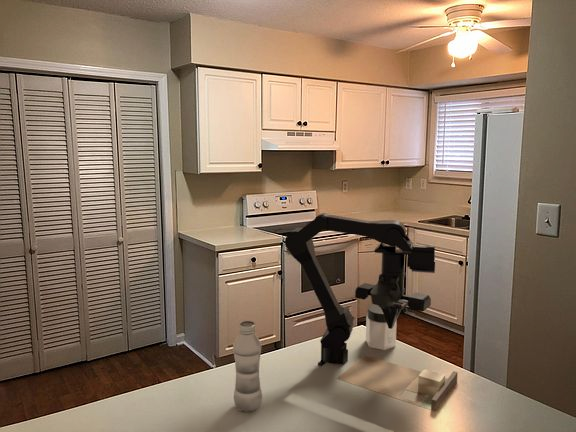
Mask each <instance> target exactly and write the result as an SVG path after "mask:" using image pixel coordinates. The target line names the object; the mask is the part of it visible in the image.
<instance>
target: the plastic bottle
mask: <svg viewBox="0 0 576 432" xmlns="http://www.w3.org/2000/svg"><path fill="white" fill-rule="evenodd" d="M256 332H257V331H256V322H254V321H252V320H243V321H240V322H239V323H238V333H239V334H238V335H237V337H236V338H235V340H234V341H233V345H232V351H233V356H234V361H235V362H234V364H235V366H234V367H235V384H234V391H233V402H234V405H235V407H236V408H237V409H238V410H239V411H241V412H245V413H247V412H248V413H250V412H254V411H256V410H257V409H259V408H260V407H261V405H262V401H263V393H262V387H261V381H260V380H261V378H260V360H261V352H262V343H261V340H260V339H259V337H258V336H257V335H256Z"/></svg>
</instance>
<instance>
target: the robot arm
mask: <svg viewBox="0 0 576 432" xmlns="http://www.w3.org/2000/svg"><path fill="white" fill-rule="evenodd" d="M322 231H331V232H336V233H341V234H348V235H355V236H360V237H366V238H369V239H373V240H374V241H376V242H379V244H378V245H377V246H376V247H375V249H374V251H373V252H374V253H376V254H381V272H380V274H379V275H378V281H377V283H376V284H371V283H366V282H365V283H363V284H360V285H359V286H357V287H356V288H355V290H354V298H355V299H360V300H366V299H367V298H369V296H370V298H371V304H372V305H378V306H379V307H380V308H381V309H382V311H383V313H384V316H385V319H386V322H387V325H388V328H390V329H392V328H393V326H394V324H395V322H396V320H397V319H398V318H399V316H400V313H401V312H402V310H403V309H405V308H406V307H408V308H409V309H410V310H413V311H416V312H417V311H418V312H425V311H426V310H427V309H429V308H430V307H431V304H432V298H431V297H430V295H429V294H427V293H426V294H424V293H421V292H415V293H413V294H412V295H407V294H405V293H406V288H405V287H404V286H405V284H404V283H405V278H406V276H407V272H405V266H406V265H407V266H406V267H407V268H409V270H411V272H412V273H413V272H414V273H426V274H435V271H436V254H435V251H436V247H435V245H429V244H428V245H418V244H416V245H414V243H413V241H412V240H411V239H410V237H409V236H408V235H407V227H406V226H405V224H404V223H403V222H402V221H400V220H399V219H398V220H397V219H381V220H366V219H359V218H353V217H346V216H339V215H333V214H329V213H326V212H322V213H319V214H318V215H317V216H316V217H315V218H314V219H313V220H312V221H311V222H309V223H307V224H306V225H305V226H303V227H296V228H295V229H293V230H292V231H291V232H289V233H288V234H287V235H286V237H285V238H284V246H285V248H286V249H287V251H288V252H289V254H291V256H292V257H293V259H294V260H295V261H297V262H298V263H299V265H300V266H301V267H302V269H303V271H304V273H305V275H306V277H307V279H308V282H309V283H310V286H311V288H312V290H313V292H314V294H315V296H316V297H317V300H318V302H319V304H320V306H321V308H322V311H323V312H324V319H325V325H326V329H325V331H324V333H323V335H322V336H321V339H320V340H319V341H320V361H318V362H317V365H318V366H320V367H322V366H324V365H325V364H327V363H328V364H331V365H344V364H346V363H348V362H349V361H348V360H349V349H347V347H348V346H347V344H348V343H347V341H348V340H349V339H350V337H351V334H352V332H353V330H354V325H355V324H354V323H355V322H354V321H355V317H354V316H353V315H352V313H351V310H350V307H349V305H347V306H345V307H343V306H342V305H341V304H340V303H339V302H338V300H337V297H336V295H335V294H334V292H333V289H332V288H331V285H330V284H329V281H328V279H327V277H326V275H325V272H324V271H323V269H322V267H321V265H320V263H319V261H318V259H317V256H316V250H315V244H314V241H313V238H314V237H315V236H317V235H318V234H319V233H321V232H322ZM397 248H398V249H397ZM406 255H407V259H406V260H405V258H406ZM405 262H407V263H405ZM405 264H406V265H405Z"/></svg>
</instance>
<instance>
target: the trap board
mask: <svg viewBox="0 0 576 432" xmlns="http://www.w3.org/2000/svg"><path fill="white" fill-rule="evenodd" d="M421 372H422V370H417V369H413V368H410V367H407V366H403V365H401V364H396V363H393V362H389V361H386V360H383V359H379V358H376V357H372V356H369V355H363V356H362V357H361V358H360V359H359V360H358V361H356V362H355V363H354V364H353V365H351V366H350V367H348V368H347V369H346V370H345V371H344V372H342V373H341V374H340V375H339V376H337V377H336V379H337V380H339V381H342V382H346V383H348V384H352V385H354V386H357V387H360V388H363V389H366V390H369V391H373V392H376V393H378V394H381V395H384V396H388V397H392V398H394V399H397V400H400V401H403V402H406V403H409V404H411V405H414V406H417V407H422V408H423V409H427V410H430V411H433V412H436V411H437V410H438V409H439V408H440V406H441V404H442V403H443V402H444V401H445V399H446V398H447V396H448V395H449V394H450V393H451V391H452V389H453V388H454V387H455V385H457V383H458V373H459V372H457V371H455V370H453V371H452V372H451V373H450V375H449V376H448V378H446V377H445V383H444V384H443V385H442V387H441V388H440V389H439V390H438V392H437V393H436V394H435V396H431V395H427V394H424V393H421V392H418V379H416V378H418V377H419V375H420V374H421ZM404 391H409V392H411V393H415V394H418V395H421V396H423V399H422V400H421V401H420V402H418V401H417V402H416V401H413V400H410V399H407V398H404V397H402V396H401V395H402V394H403V392H404ZM400 396H401V397H400Z"/></svg>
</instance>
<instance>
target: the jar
mask: <svg viewBox="0 0 576 432" xmlns="http://www.w3.org/2000/svg"><path fill="white" fill-rule="evenodd" d="M366 312H367V315H366V317H365V321H366V322H365V343H366V345H367V346H368V348H372V349H379V350H381V351H386V350H389V349H392V348H394V347H396V346H397V320H396V322H395V324H394V326H393V328H392V329H390V328H388V325H387V322H386V319H385V316H384V313H383V311H382V309H381V308H380V307H379V306H378V305H375V304H372V305H370V306H368V307H367V311H366Z"/></svg>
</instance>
